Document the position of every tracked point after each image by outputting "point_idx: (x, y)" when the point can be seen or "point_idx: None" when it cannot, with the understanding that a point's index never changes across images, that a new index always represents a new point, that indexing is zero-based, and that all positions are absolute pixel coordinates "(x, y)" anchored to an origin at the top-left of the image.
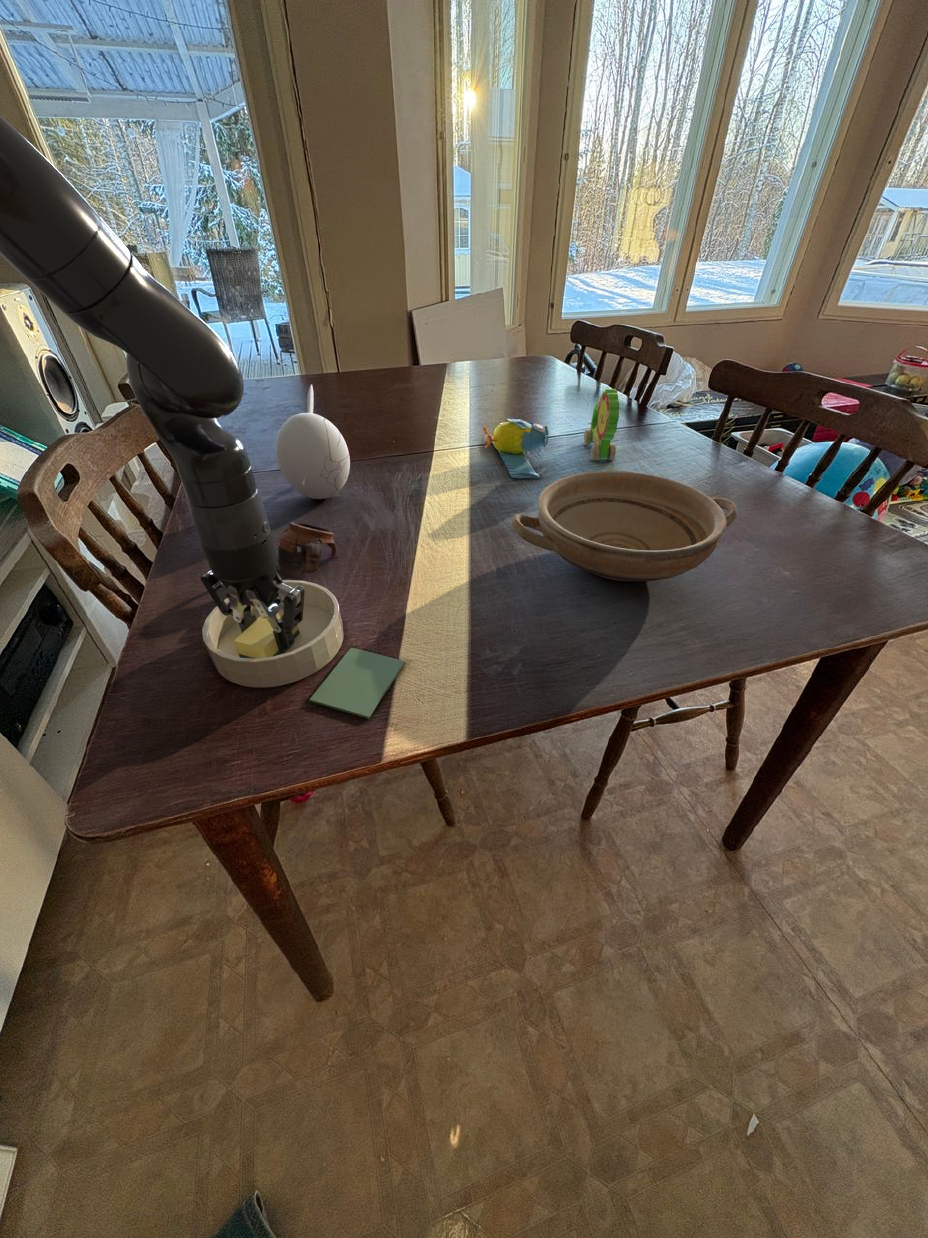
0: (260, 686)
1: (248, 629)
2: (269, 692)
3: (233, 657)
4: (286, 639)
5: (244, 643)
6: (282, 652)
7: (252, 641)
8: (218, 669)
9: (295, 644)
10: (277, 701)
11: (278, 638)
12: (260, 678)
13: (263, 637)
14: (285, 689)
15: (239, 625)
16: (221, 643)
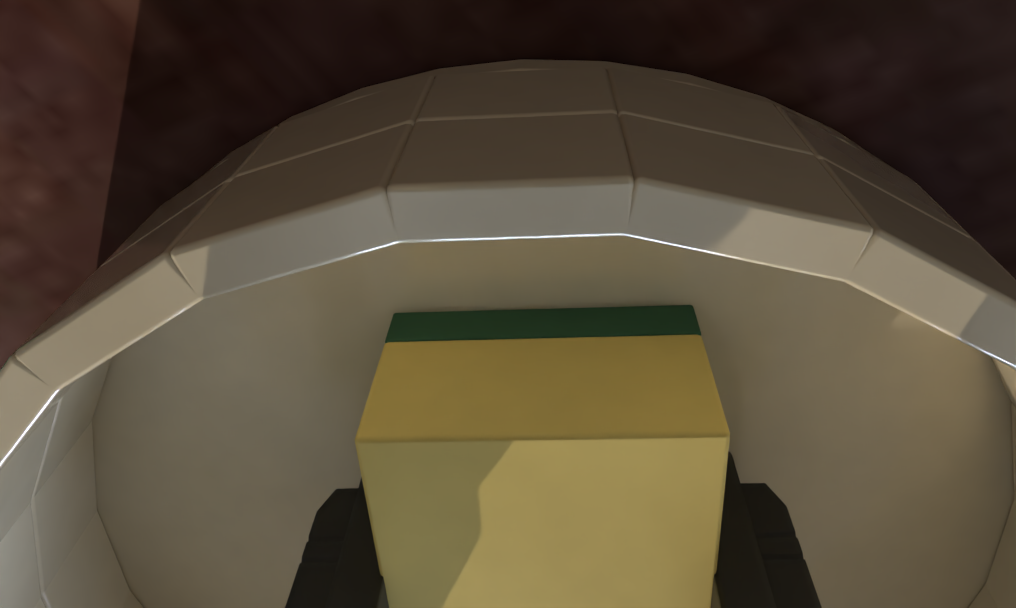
0: (310, 110)
1: (691, 582)
2: (211, 89)
3: (461, 222)
4: (298, 579)
5: (592, 438)
6: None
7: (530, 481)
8: (773, 113)
9: None
10: (65, 29)
11: (339, 573)
12: (249, 152)
13: (475, 547)
14: (126, 167)
15: (814, 596)
16: (972, 382)
